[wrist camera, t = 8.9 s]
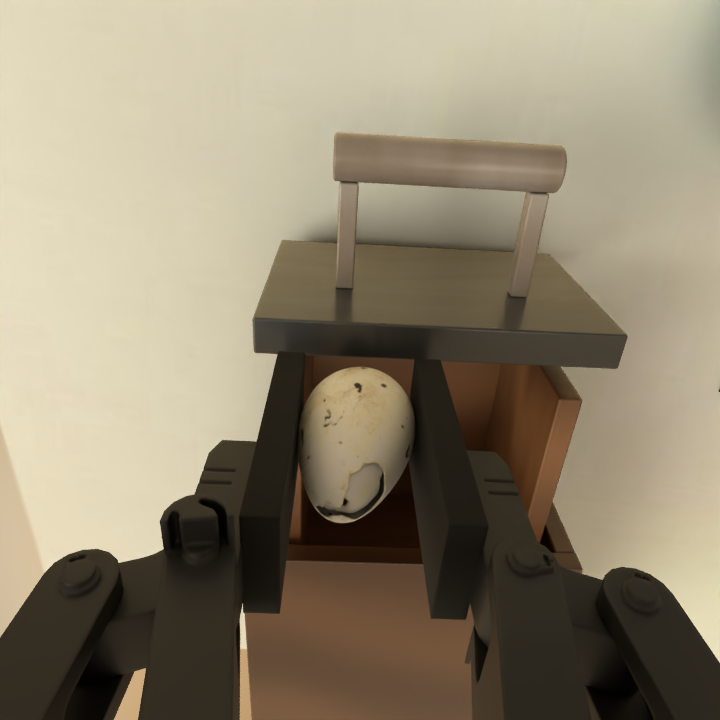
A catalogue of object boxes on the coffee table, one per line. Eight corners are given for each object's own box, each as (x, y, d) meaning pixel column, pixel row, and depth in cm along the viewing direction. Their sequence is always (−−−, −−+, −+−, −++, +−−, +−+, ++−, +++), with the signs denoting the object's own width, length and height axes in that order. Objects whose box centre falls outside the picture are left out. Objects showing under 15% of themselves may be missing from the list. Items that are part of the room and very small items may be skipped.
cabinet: (273, 409, 29) (240, 559, 20) (517, 419, 29) (583, 569, 21) (277, 599, 36) (254, 768, 27) (473, 604, 36) (509, 773, 28)
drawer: (279, 112, 21) (244, 142, 14) (578, 129, 21) (683, 168, 15) (284, 486, 30) (264, 615, 23) (495, 493, 30) (536, 622, 24)
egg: (402, 435, 18) (421, 560, 13) (302, 431, 18) (288, 556, 13) (414, 347, 16) (439, 456, 12) (303, 342, 16) (288, 449, 12)
